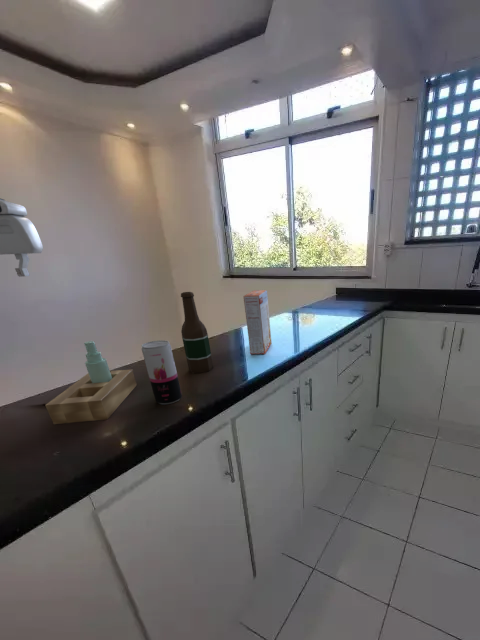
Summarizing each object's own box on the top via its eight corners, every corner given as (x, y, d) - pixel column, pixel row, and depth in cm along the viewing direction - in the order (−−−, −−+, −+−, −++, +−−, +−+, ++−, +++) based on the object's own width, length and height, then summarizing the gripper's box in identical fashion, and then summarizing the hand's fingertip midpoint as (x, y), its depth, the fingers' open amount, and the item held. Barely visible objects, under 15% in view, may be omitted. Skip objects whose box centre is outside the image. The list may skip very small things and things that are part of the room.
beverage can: (171, 406, 78) (157, 348, 71) (150, 403, 79) (134, 347, 73) (187, 395, 83) (175, 340, 77) (167, 393, 85) (153, 339, 78)
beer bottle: (218, 367, 102) (206, 291, 92) (200, 375, 97) (184, 294, 86) (202, 363, 106) (188, 290, 96) (183, 371, 100) (167, 293, 90)
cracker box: (257, 343, 126) (252, 289, 117) (272, 343, 126) (268, 289, 116) (249, 354, 114) (242, 295, 104) (265, 354, 113) (260, 294, 104)
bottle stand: (53, 424, 71) (45, 405, 69) (94, 388, 90) (88, 372, 88) (107, 419, 73) (100, 400, 70) (136, 385, 91) (132, 369, 89)
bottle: (94, 400, 83) (74, 345, 76) (101, 392, 87) (83, 340, 80) (113, 398, 83) (94, 344, 77) (119, 391, 88) (103, 339, 81)
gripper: (-101, 205, 60) (-62, 280, 67) (13, 203, 63) (40, 276, 69) (-71, 209, 66) (-38, 278, 72) (33, 207, 68) (56, 274, 74)
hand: (1, 277), depth 70 cm, fingers open, 8 cm apart
